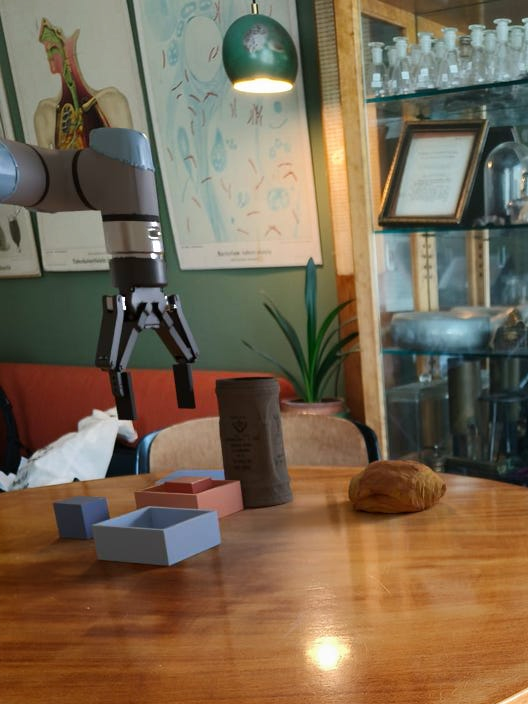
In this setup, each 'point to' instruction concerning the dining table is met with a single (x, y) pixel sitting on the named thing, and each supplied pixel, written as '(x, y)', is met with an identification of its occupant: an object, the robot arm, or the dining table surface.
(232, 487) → the red bin
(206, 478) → the red block
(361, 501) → the croissant
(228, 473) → the brown tall cylinder
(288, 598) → the dining table surface
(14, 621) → the dining table surface
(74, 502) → the blue block
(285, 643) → the dining table surface
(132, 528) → the blue bin
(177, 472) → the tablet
